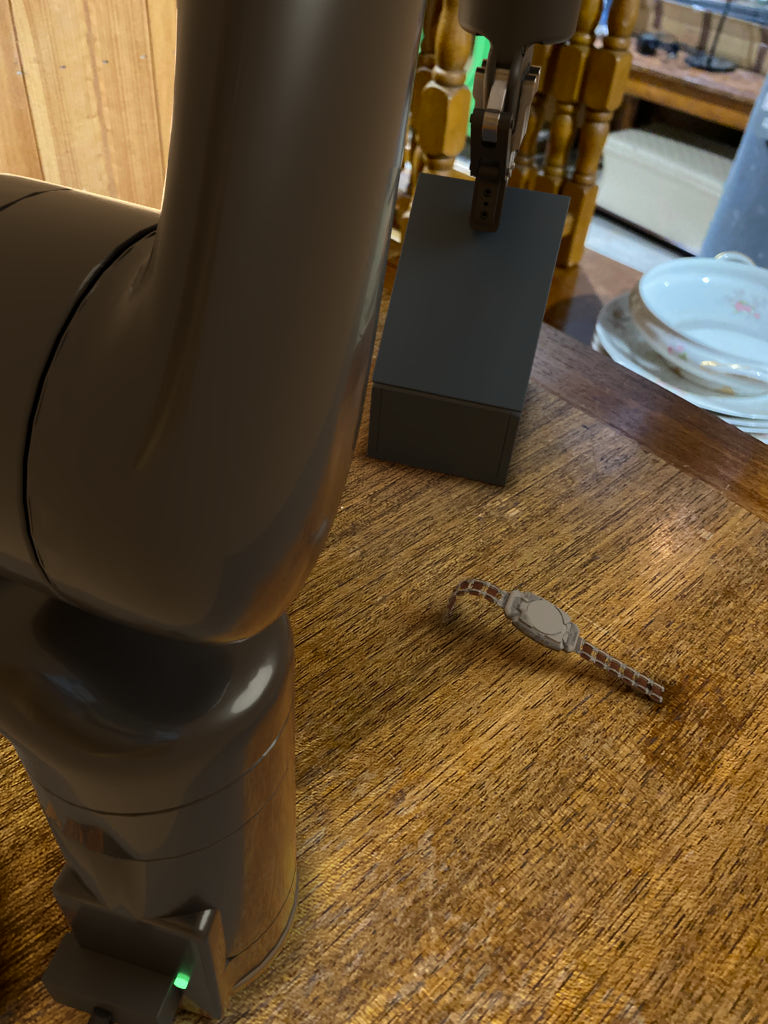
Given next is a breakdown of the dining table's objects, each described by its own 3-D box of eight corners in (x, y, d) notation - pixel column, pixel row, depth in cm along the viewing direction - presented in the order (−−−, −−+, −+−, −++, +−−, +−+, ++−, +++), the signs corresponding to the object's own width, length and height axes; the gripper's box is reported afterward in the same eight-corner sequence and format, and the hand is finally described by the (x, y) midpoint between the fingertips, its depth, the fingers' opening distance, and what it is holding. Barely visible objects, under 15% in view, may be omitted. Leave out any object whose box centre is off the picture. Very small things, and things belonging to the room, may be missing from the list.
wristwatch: (445, 595, 53) (475, 553, 50) (629, 705, 53) (673, 670, 49) (426, 632, 51) (457, 590, 47) (619, 748, 50) (666, 714, 47)
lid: (420, 176, 60) (419, 171, 59) (570, 201, 59) (571, 196, 58) (372, 382, 60) (371, 380, 59) (521, 413, 58) (522, 411, 58)
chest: (409, 363, 76) (416, 299, 71) (527, 387, 74) (542, 322, 70) (366, 456, 65) (371, 386, 60) (504, 486, 63) (520, 417, 58)
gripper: (484, -75, 52) (451, 190, 63) (446, -54, 42) (415, 254, 54) (598, -62, 51) (543, 205, 62) (584, -38, 41) (523, 273, 53)
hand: (484, 227), depth 58 cm, fingers closed
